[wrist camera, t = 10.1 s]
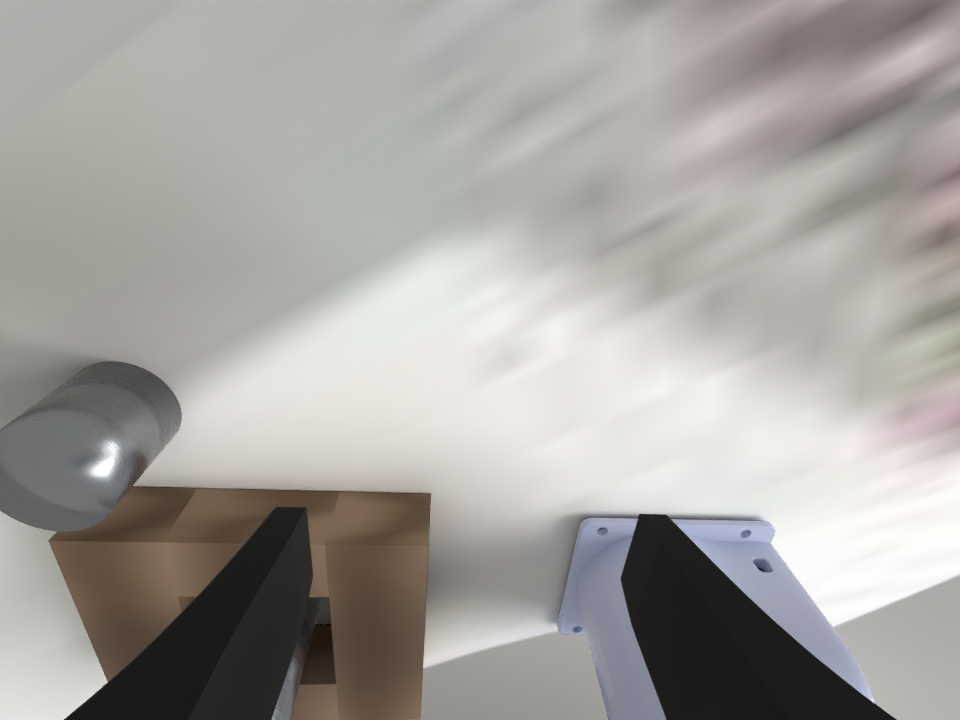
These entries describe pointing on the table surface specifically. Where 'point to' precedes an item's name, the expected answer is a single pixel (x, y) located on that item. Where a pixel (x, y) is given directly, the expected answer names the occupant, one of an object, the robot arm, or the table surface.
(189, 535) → the wooden square frame
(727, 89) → the table surface
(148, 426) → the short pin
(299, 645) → the tall pin
